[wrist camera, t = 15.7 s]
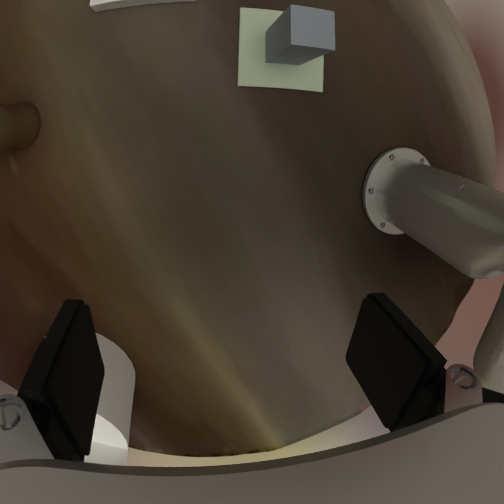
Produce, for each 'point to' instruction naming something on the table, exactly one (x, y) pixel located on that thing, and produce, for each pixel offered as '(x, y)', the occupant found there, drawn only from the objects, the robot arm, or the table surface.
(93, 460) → the grey stepped cylindrical piece
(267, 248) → the table surface
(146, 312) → the table surface
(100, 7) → the white square hole board
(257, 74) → the sage mat
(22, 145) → the beer glass
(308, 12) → the slate plug
